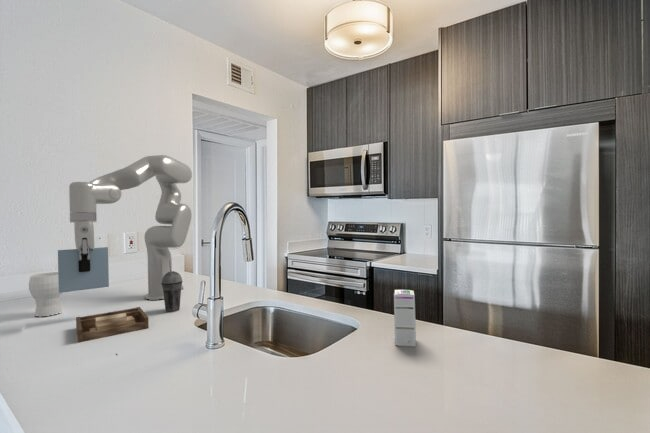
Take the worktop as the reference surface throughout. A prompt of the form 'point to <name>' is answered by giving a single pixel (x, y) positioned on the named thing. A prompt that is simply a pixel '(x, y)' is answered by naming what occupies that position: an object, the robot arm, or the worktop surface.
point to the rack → (89, 322)
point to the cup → (45, 293)
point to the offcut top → (111, 319)
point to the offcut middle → (116, 324)
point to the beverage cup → (172, 290)
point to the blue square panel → (82, 280)
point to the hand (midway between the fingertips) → (84, 270)
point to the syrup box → (404, 318)
